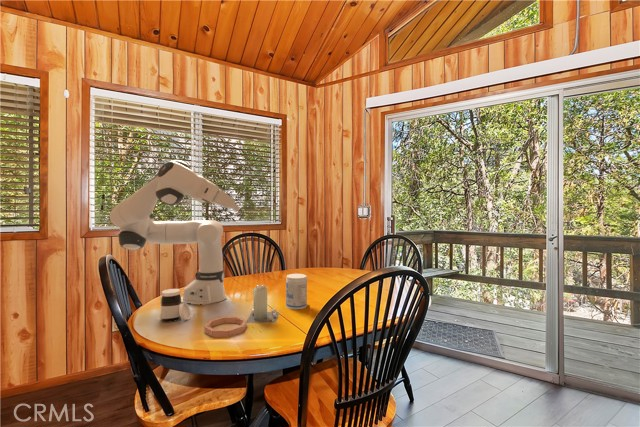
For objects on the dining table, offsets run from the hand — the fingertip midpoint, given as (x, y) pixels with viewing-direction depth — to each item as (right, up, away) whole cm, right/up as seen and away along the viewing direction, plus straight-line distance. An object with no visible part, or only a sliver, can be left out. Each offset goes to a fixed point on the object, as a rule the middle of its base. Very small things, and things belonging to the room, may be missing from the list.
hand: (233, 207), depth 129 cm
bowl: (0, -46, -10) cm, 47 cm away
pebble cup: (+11, -45, +1) cm, 46 cm away
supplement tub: (+24, -46, +17) cm, 54 cm away
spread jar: (-24, -46, +3) cm, 52 cm away
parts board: (+12, -46, +2) cm, 47 cm away
